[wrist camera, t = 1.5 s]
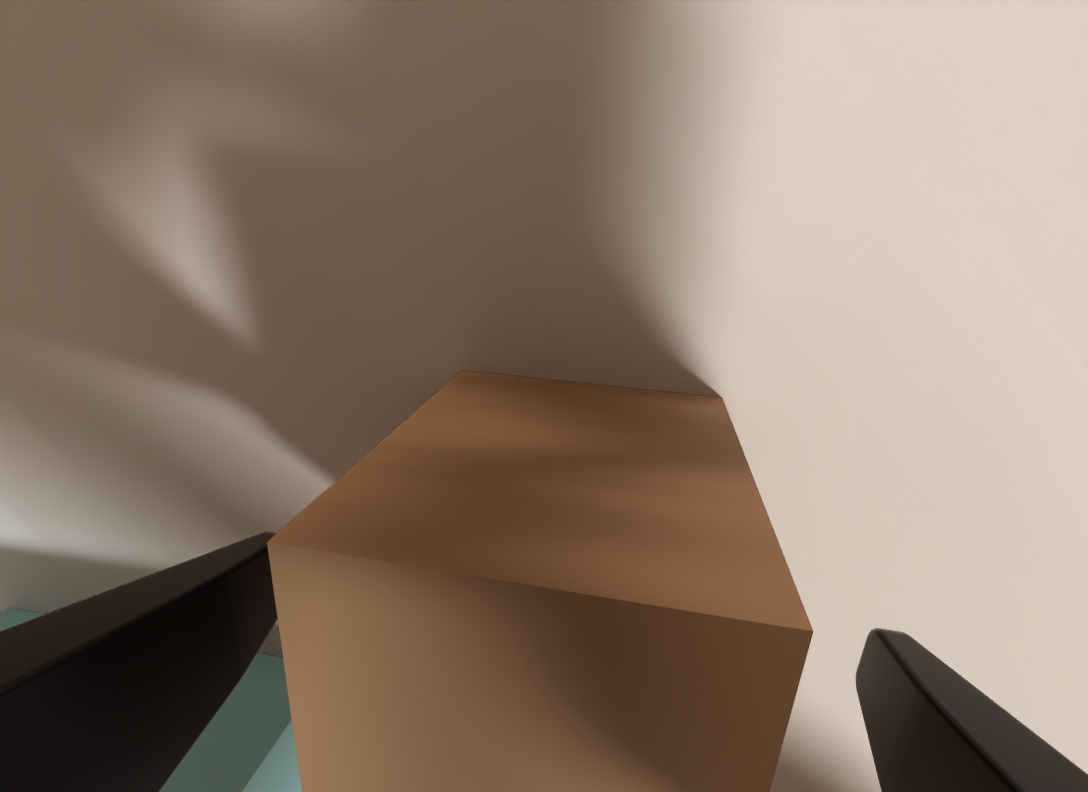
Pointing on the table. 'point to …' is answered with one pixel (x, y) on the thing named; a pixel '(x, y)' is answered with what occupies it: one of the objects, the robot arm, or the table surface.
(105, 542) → the table surface
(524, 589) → the walnut block
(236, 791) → the teal base block
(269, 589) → the robot arm
